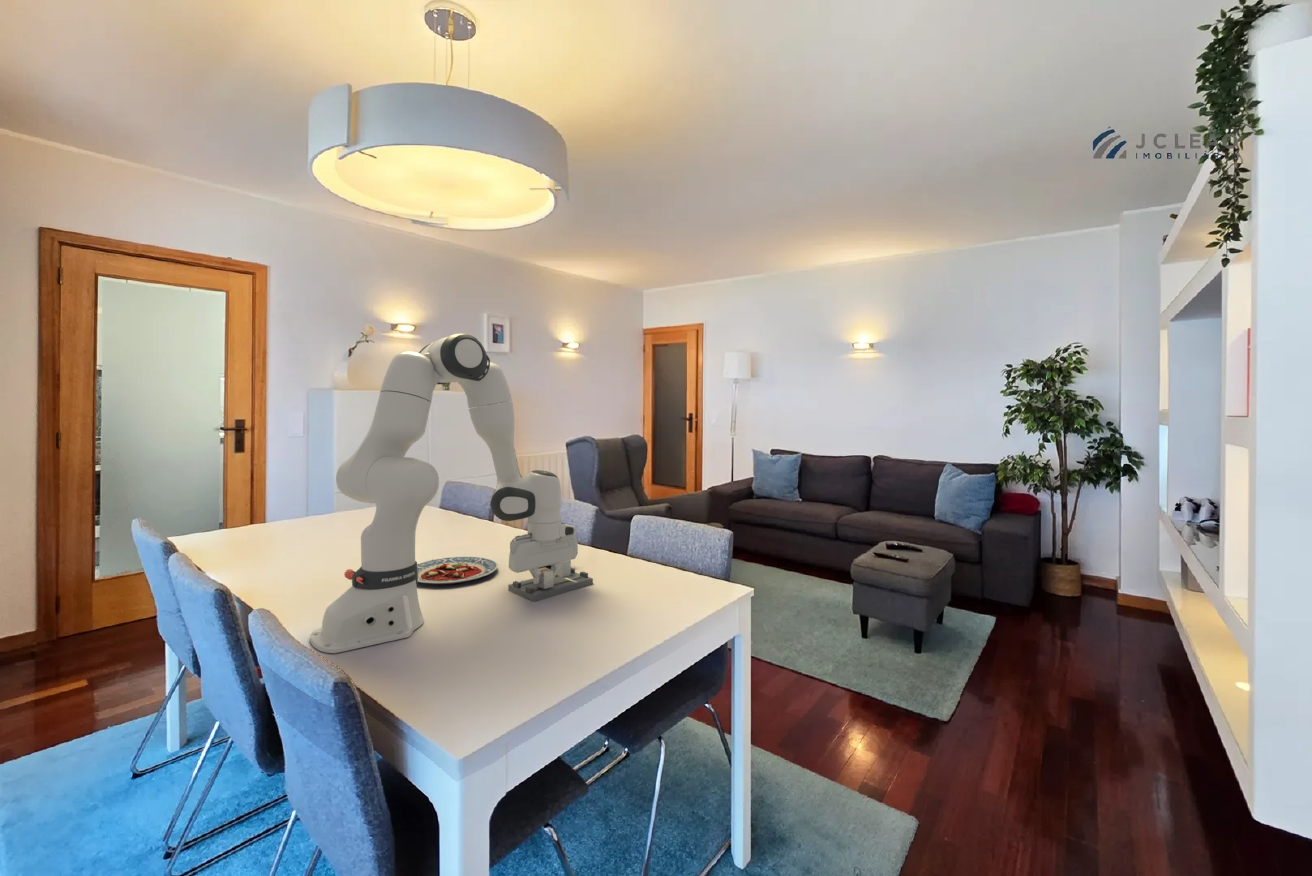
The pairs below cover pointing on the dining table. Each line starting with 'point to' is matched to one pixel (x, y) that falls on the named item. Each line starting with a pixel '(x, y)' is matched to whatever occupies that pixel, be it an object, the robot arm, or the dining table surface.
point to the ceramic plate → (454, 569)
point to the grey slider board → (561, 583)
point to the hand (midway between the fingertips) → (544, 581)
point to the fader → (545, 578)
